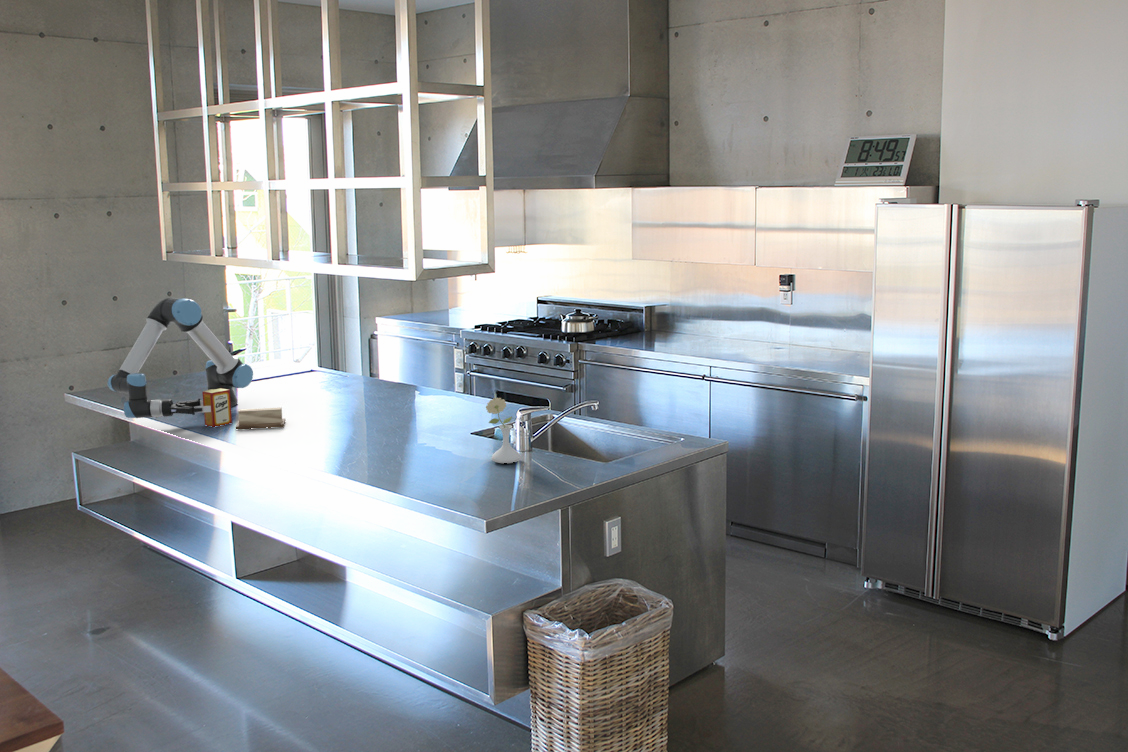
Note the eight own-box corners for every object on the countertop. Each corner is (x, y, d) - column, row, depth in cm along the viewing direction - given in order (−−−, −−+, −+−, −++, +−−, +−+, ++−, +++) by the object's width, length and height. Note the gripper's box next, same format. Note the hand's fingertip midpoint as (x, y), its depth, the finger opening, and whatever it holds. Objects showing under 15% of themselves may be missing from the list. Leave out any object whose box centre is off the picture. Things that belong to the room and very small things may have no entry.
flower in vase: (521, 457, 362) (520, 394, 357) (521, 465, 350) (520, 400, 346) (487, 458, 361) (486, 394, 357) (486, 466, 350) (484, 400, 346)
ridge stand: (239, 424, 422) (238, 407, 421) (285, 421, 426) (284, 405, 425) (235, 430, 411) (234, 413, 409) (283, 427, 415) (282, 411, 413)
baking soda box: (223, 421, 427) (220, 387, 424) (232, 423, 423) (229, 388, 420) (205, 425, 419) (202, 390, 417) (213, 427, 416) (211, 392, 413)
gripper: (169, 410, 427) (218, 408, 432) (157, 422, 403) (209, 420, 408) (167, 394, 426) (217, 392, 430) (155, 405, 402) (207, 403, 406)
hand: (213, 405), depth 419 cm, fingers open, 13 cm apart
